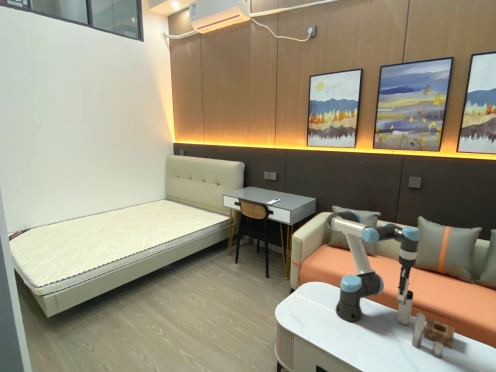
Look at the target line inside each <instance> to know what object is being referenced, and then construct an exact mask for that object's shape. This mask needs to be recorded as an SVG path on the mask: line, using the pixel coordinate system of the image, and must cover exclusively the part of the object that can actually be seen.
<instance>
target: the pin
mask: <svg viewBox="0 0 496 372" xmlns="http://www.w3.org/2000/svg"><path fill="white" fill-rule="evenodd" d="M408 284H409V285H410V278H409V279H408V278H407V280H406V286H405V296H404V301H402V300H400V299H398V296H397V297H396V303H397V304H398V305H399V304H400V305H405V304H406V298H407V291H408V290H409V285H408ZM398 293H399V289H398V291H397V294H398Z"/></svg>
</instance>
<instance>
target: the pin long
mask: <svg viewBox="0 0 496 372" xmlns="http://www.w3.org/2000/svg"><path fill="white" fill-rule="evenodd" d="M414 319H415V320H414V327H413V334H412V339H411V346H412V347H414V348H416V349H421V348H422V341H423V337H424V331H425V323H426V315H425V314H424V313H422V312H416V313H415V318H414Z"/></svg>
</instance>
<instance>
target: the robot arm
mask: <svg viewBox="0 0 496 372" xmlns="http://www.w3.org/2000/svg"><path fill="white" fill-rule="evenodd" d="M326 225H327V227H328V228H329V229H330V230H331V231H334V232H341V233H342V234H343V235H345V237H346V241H347V245H348V247H349V250H350V254H351V256H352V260H353V263H354V265H355V269H356V273H355V274H353V275H352V274H347V275H344V276H342V278H341V280H340V284H339V286H340V288H339V289H340V290H339V298H338V299H339V300H338V302H337V304H336V305H335V313H336V315H337V316H338V317H339V318H340V319H342V320H344V321H346V322H351V323H354V322H355V323H356V322H359V321H360V320H362V316H363V311H362V307H361V299H364V298H369V297H372V296H373V297H374V296H377V295H380V294H381V293H383V290H384V288H385V286H384V285H385V284H384V280H383V277H381V275H380V274H378V273H376V271H375V270H374V269H373V268H372V266H371V264H370V261H369V258H368V255H367V252H366V249H365V247H364V243H363V241H364V242H365V243H368V244H369V243H371V244H374V243H378V242H383V241H389V240H391V241H392V240H393V241H396V242H398V243H400V245H399V246H400V247H399V252H398V254H399V255H398V260H397V261H398V263H399V265H401V266H400V272H399V274H400V275H399V283H398V286H397V289H398V290H399V293H398V292H397V297H398V299H400V300H402V301H404V296H405V286H406V280H407V278H408V279H409V280H410V273H411V270H412V268H414V267H415V266H416V264H417V257H418V256H419V252H418V248H419V243H420V240H421V231H420V229H419V228H417V227H416V226H415V227H413V226H409V225H405V226H404V227H402V226H399V225H397V224H395V223H392V222H388V221H387V222H385V223H383V224H382V225H381V226H371V225H367V224H364V223H362V219H361V216H360V215H359V213H358V212H356V211H354V210H346V211H337V212H332V213H330V214H329V215H328V216H327V217H326ZM409 285H410V283H409V284H408V286H409Z"/></svg>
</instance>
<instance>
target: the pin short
mask: <svg viewBox="0 0 496 372" xmlns="http://www.w3.org/2000/svg"><path fill="white" fill-rule="evenodd" d="M444 347H445V346H444V345H443V344H442V343H440V342H437V341H435V342H434V341H433V346H432V351H431V354H432V356H434V358H437V359H441V358H442V357H443V353H444Z"/></svg>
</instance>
